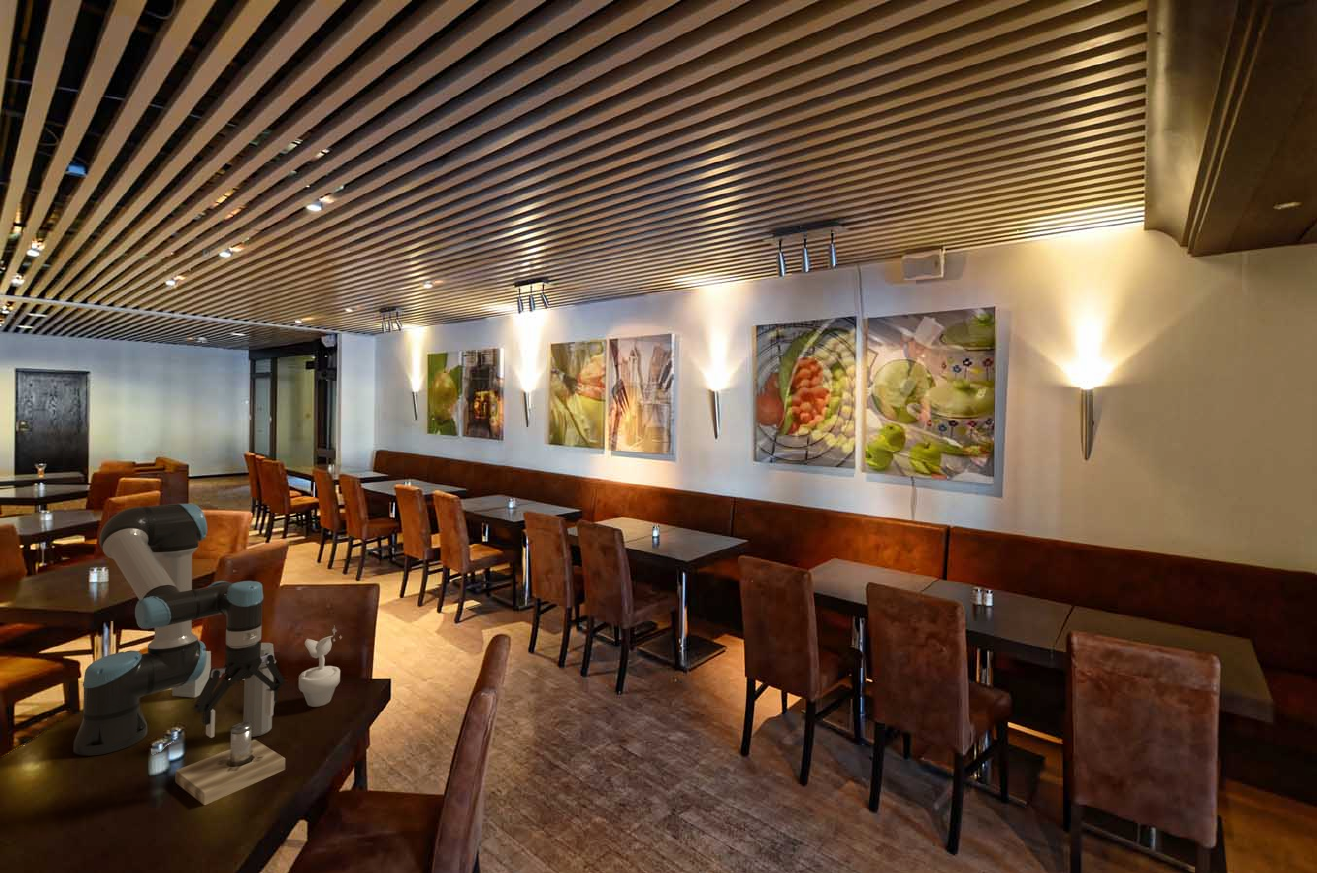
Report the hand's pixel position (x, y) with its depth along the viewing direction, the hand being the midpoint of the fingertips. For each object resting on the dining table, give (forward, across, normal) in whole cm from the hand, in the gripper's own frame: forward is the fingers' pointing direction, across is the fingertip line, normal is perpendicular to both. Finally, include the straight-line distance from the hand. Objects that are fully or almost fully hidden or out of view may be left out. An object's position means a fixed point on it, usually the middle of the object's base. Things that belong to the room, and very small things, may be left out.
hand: (240, 724), depth 154 cm
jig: (+12, -2, -1) cm, 12 cm away
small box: (+14, +12, +60) cm, 63 cm away
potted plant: (+13, +32, +21) cm, 41 cm away
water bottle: (+13, +13, +17) cm, 25 cm away
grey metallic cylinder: (+12, 0, -1) cm, 12 cm away
